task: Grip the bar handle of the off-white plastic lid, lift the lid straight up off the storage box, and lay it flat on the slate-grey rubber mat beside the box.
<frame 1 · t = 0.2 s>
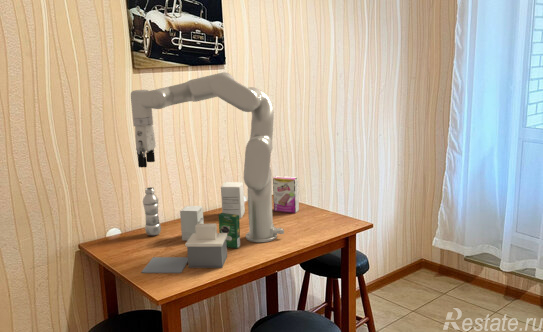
hand: (146, 164, 204), 31 cm above the table, tool pointing down, fingers open, 9 cm apart
lid: (206, 241, 183), point 8 cm above the table, touching storage box
candy bar box: (286, 211, 240), on the table
supplement box: (193, 238, 210), on the table
mat: (166, 265, 183), on the table
coffee box: (230, 247, 198), on the table
supplement box 2: (233, 215, 237), on the table
plastic bottle: (153, 234, 215), on the table
storage box: (208, 262, 184), on the table
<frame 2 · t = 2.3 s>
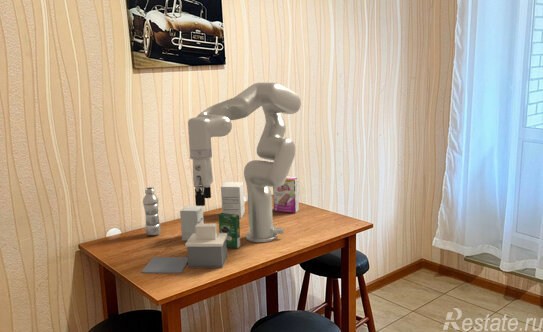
hand: (203, 201, 179), 23 cm above the table, tool pointing down, fingers open, 9 cm apart
nothing on the table moved.
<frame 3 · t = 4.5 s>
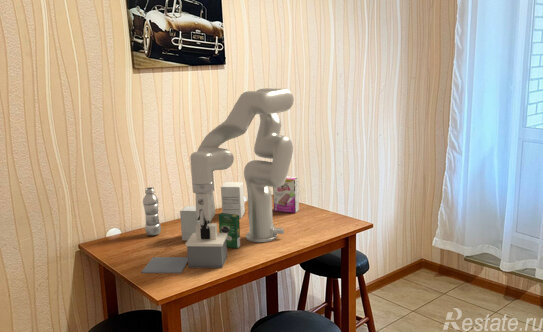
hand: (206, 236, 182), 10 cm above the table, tool pointing down, fingers closed on lid, 3 cm apart
lid: (207, 240, 183), point 8 cm above the table, touching gripper
everything else where it was.
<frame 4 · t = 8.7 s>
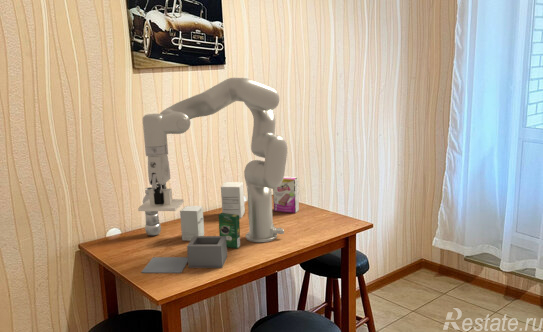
hand: (161, 202, 178), 23 cm above the table, tool pointing down, fingers closed on lid, 3 cm apart
lid: (161, 206, 178), point 22 cm above the table, touching gripper
everything else where it was.
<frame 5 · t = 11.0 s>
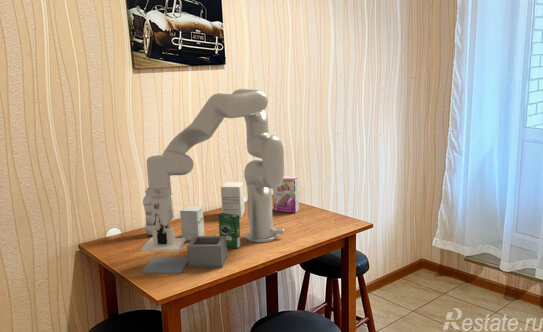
hand: (164, 241, 181), 9 cm above the table, tool pointing down, fingers closed on lid, 3 cm apart
lid: (164, 245, 181), point 8 cm above the table, touching gripper
everything else where it was.
when the fingers open (4 cm above the table, at t = 12.9 s): lid drops 2 cm, resting on mat.
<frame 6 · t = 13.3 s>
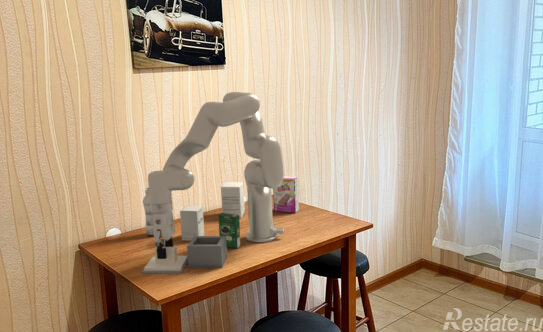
hand: (165, 253, 182), 4 cm above the table, tool pointing down, fingers open, 7 cm apart
lid: (166, 264, 183), resting on mat
everything else where it was.
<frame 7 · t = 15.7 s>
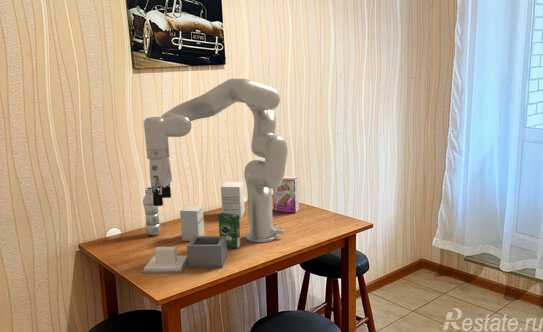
hand: (162, 201, 178), 23 cm above the table, tool pointing down, fingers open, 9 cm apart
nothing on the table moved.
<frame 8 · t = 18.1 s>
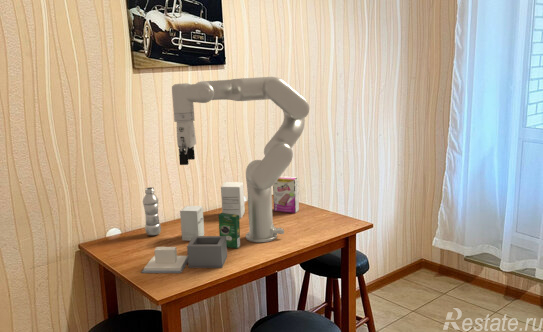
hand: (187, 162, 195), 33 cm above the table, tool pointing down, fingers open, 9 cm apart
nothing on the table moved.
at the end: lid 0.1 cm off-centre on the mat, point 0.4 cm above the mat's base; lid tilted 0°; lid touching mat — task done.
